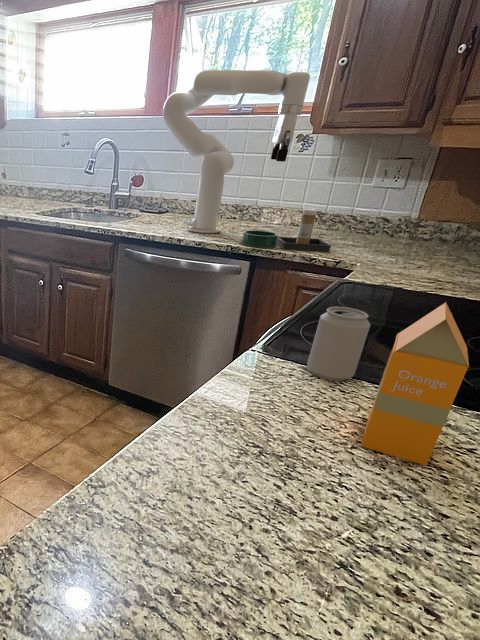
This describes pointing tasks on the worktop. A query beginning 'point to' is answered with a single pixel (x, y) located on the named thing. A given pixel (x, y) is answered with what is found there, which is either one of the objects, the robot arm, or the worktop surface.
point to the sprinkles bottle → (306, 226)
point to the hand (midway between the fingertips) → (277, 160)
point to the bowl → (259, 239)
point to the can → (338, 343)
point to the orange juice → (418, 388)
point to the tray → (303, 245)
